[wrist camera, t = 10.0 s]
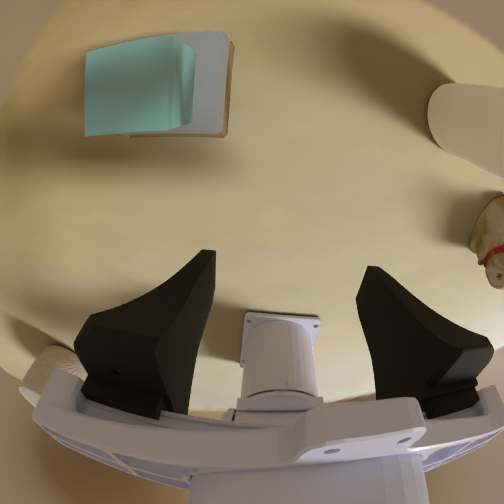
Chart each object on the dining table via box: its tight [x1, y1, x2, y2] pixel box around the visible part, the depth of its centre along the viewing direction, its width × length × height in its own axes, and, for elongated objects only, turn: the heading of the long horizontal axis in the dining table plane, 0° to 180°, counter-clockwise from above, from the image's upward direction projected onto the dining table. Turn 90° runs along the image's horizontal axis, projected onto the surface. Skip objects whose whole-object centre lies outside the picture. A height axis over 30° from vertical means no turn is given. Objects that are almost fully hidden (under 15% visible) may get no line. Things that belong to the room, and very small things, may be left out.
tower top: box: [118, 32, 230, 135], centre depth 14 cm, size 6×6×2 cm
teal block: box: [84, 35, 196, 137], centre depth 12 cm, size 4×4×4 cm
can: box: [427, 83, 504, 181], centre depth 11 cm, size 6×6×12 cm
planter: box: [18, 345, 88, 407], centre depth 33 cm, size 12×12×11 cm
